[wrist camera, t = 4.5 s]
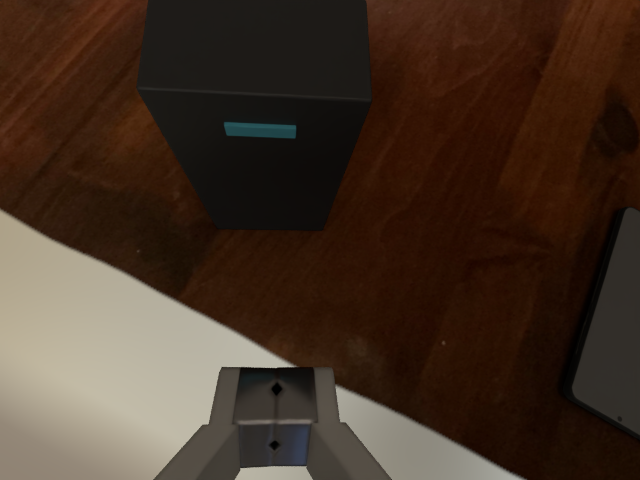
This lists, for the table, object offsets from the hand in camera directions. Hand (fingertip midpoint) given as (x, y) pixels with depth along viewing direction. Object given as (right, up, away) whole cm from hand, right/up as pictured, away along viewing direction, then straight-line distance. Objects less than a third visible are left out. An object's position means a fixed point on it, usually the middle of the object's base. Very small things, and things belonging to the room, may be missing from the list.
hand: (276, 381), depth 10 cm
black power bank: (-2, +6, +15) cm, 16 cm away
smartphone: (+23, -1, +15) cm, 28 cm away
